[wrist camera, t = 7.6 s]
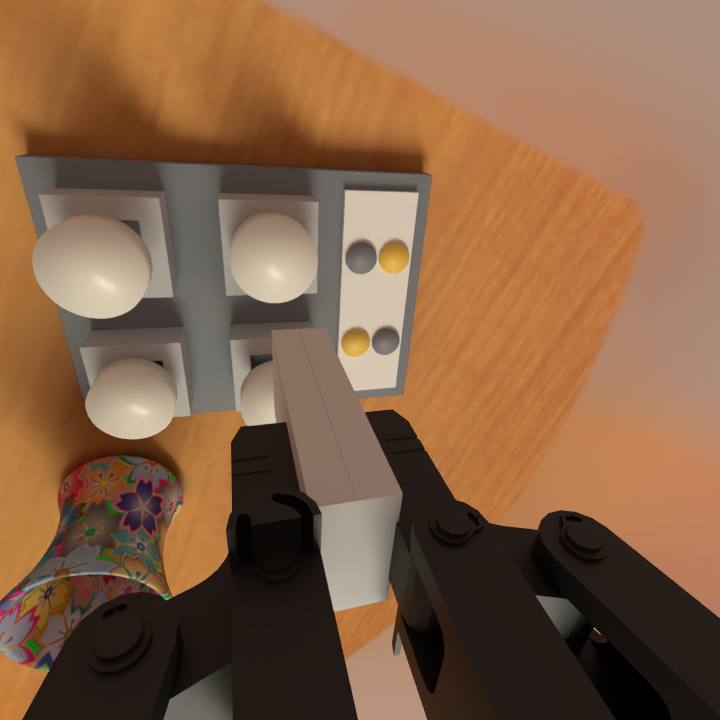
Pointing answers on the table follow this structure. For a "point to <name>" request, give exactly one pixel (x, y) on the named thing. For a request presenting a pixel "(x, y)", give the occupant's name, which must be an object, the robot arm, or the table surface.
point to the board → (214, 276)
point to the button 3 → (258, 396)
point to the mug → (92, 554)
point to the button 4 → (273, 257)
